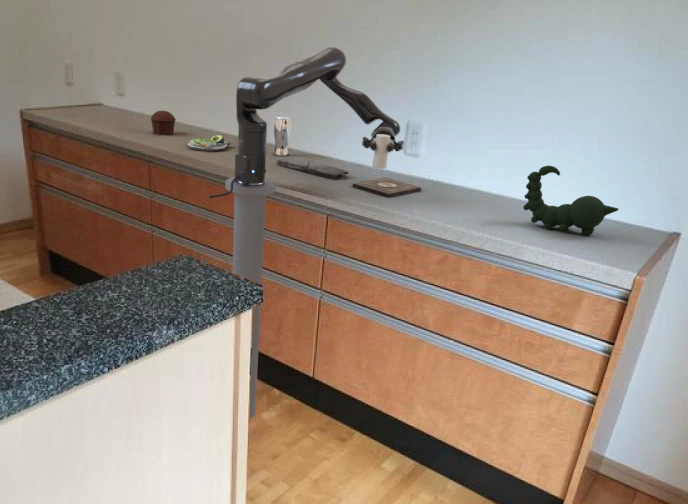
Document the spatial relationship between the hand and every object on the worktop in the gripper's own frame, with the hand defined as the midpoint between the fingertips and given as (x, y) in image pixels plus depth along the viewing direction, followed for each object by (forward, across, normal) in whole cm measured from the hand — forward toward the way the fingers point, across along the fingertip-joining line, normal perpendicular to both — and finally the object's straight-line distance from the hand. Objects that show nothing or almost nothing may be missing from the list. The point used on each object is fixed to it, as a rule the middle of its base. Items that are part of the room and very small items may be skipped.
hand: (381, 148), depth 189 cm
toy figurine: (+11, +56, +17) cm, 59 cm away
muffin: (-80, -103, +17) cm, 131 cm away
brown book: (-18, +3, +17) cm, 24 cm away
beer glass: (-58, -43, +17) cm, 74 cm away
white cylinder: (-3, 0, +6) cm, 7 cm away
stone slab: (-34, -26, +17) cm, 46 cm away
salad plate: (-58, -74, +17) cm, 96 cm away
